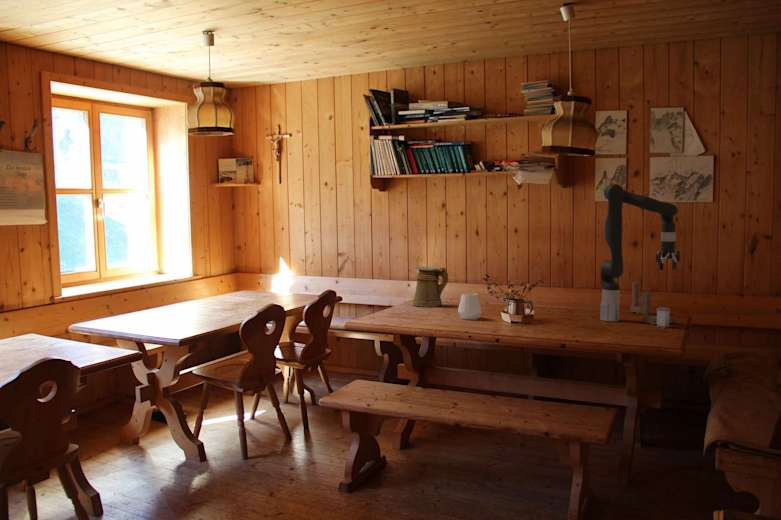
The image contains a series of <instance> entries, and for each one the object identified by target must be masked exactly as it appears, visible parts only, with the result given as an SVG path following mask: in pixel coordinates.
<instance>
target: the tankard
mask: <svg viewBox="0 0 781 520" xmlns="http://www.w3.org/2000/svg"><path fill="white" fill-rule="evenodd" d="M416 269H417V270H418V273H417V274H416V279H417V281H416V284H415V293H414V298H413V299H412V306H415V307H421V308H422V307H423V308H424V307H425V308H437V307H440V306H441V305H442V304H443V303H442V299H441V295H442V293H443V291H444V290H445V288H446V286H447V284H448V281H449V274H448V271H447V270H446V267H431V266H417V267H416ZM440 277H441V279H442V280H441V282H440V283H439V280H440Z"/></svg>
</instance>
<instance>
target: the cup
mask: <svg viewBox="0 0 781 520" xmlns="http://www.w3.org/2000/svg"><path fill="white" fill-rule="evenodd" d="M478 295H479V294H478V293H474V292H473V293H472V292H470V293H469V292H466V293H462V294H461V297H460V301H459V305H458V307H457V309H458V310H457V313H458V314H459V316H460V318H461V319H462V320H466V321H468V320H469V321H472V320H478V319H479V317H480V316H481V314H482V307H481V302H480V300H479V299H480V298H479V296H478Z"/></svg>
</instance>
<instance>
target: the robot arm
mask: <svg viewBox="0 0 781 520" xmlns="http://www.w3.org/2000/svg"><path fill="white" fill-rule="evenodd" d="M603 195H604V197H605V199H606V200H607V203H608V204H607V205H608V206H607V207H608V210H607V215H606V219H605V223H604V239H605V241H606V244H607V245H608V247H609V248H608V249H609V250H610V255H611V260H609V259H608V260H604V261H603V262H602V263H601V266H600V284H601V287H602V290H601V291H602V292H601V297H602V298H601V302H600V304H599V305H600V309H599V312H600V313H599V319H600V321H603V322H619V321H620V294H621V293H620V289H621V286H620V284H619V283H617V282H616V281H615V279H618V278H620V277H622V276H623V273H624V257H623V203H624V204H627V205H631V206H633V207H637V208H640V209H642V210H645V211H648V212H652V213H658V214H660V221H661V235H660V249H661V251H658V250H656V254H655V255H656V256H655V262H656V263H658V268H659V269H658V270H659V271H664V263H665V261H666V260H670V261H671V262H672V263H671V269H672V271H673V270H674V271H675V270H676V269H677V263H678V262H680V261H681V260H680V259H681V256H680V254H681V253H680V250H676V246H677V245H676V242H677V241H676V240H677V239H676V238H677V235H676V234H677V233H676V222H675V221H674V216H676V215H677V214H678V207H677V205H675V204H673V203H668V202H666V201H661V200H659V199H656V198H652V197H649V196H646V195H642V194H637V193H633V192H630V191H626V190H624V188H623V186H622V185H621V184H617V183H614V184H613V183H612V184H609V185H607V186H606V187H605V188H604V190H603ZM614 278H615V279H614Z"/></svg>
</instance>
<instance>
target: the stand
mask: <svg viewBox="0 0 781 520" xmlns="http://www.w3.org/2000/svg"><path fill="white" fill-rule="evenodd" d="M643 322H646V323H645V324H647V323H650V324H649V325H652V324H657V315H655V316H644V317H642V323H643ZM669 323H674V324H676V318H674V317H672V316H669Z"/></svg>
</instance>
